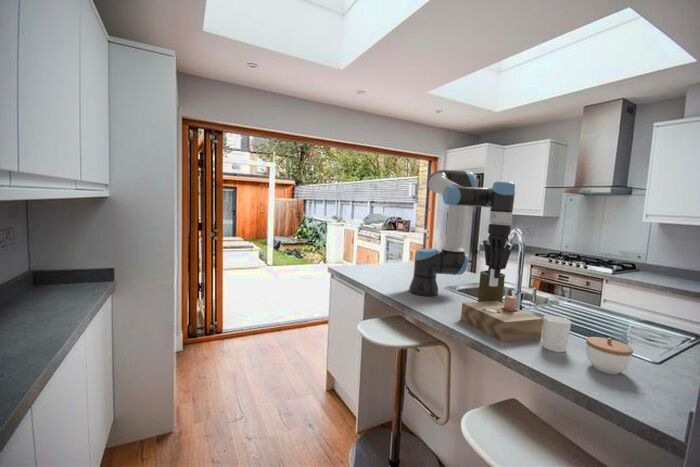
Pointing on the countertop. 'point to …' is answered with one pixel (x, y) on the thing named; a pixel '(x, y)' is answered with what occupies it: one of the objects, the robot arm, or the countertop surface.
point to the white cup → (555, 333)
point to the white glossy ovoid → (491, 311)
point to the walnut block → (502, 321)
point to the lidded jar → (608, 354)
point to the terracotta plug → (510, 303)
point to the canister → (490, 288)
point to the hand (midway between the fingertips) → (493, 285)
